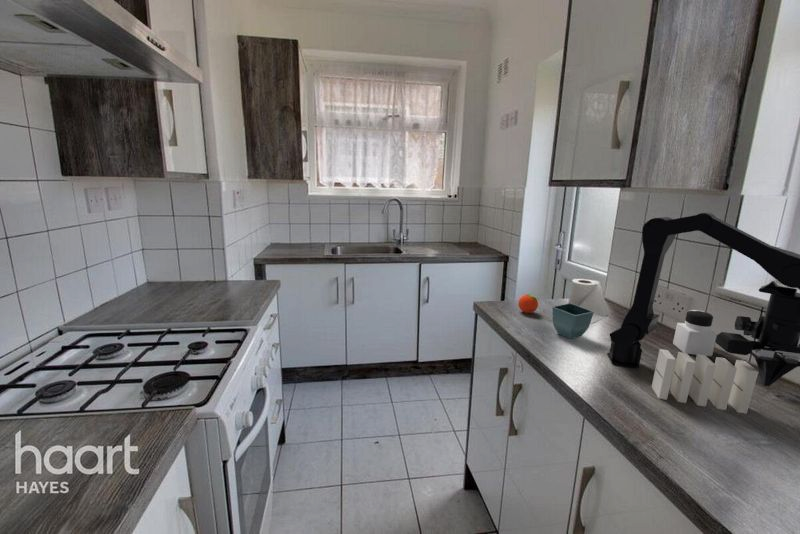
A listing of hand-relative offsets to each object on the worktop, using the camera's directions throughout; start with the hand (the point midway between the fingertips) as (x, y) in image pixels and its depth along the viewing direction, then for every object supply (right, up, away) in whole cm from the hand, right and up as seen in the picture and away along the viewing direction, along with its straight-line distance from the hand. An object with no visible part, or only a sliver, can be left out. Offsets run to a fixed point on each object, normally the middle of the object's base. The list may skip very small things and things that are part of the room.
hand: (764, 385), depth 79 cm
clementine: (-31, +8, +58) cm, 66 cm away
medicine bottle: (+8, +1, +31) cm, 32 cm away
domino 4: (-7, -5, +4) cm, 10 cm away
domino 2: (-15, -4, +6) cm, 16 cm away
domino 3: (-11, -5, +5) cm, 13 cm away
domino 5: (-4, -6, +3) cm, 7 cm away
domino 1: (-18, -4, +7) cm, 20 cm away
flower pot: (-25, +3, +39) cm, 46 cm away
